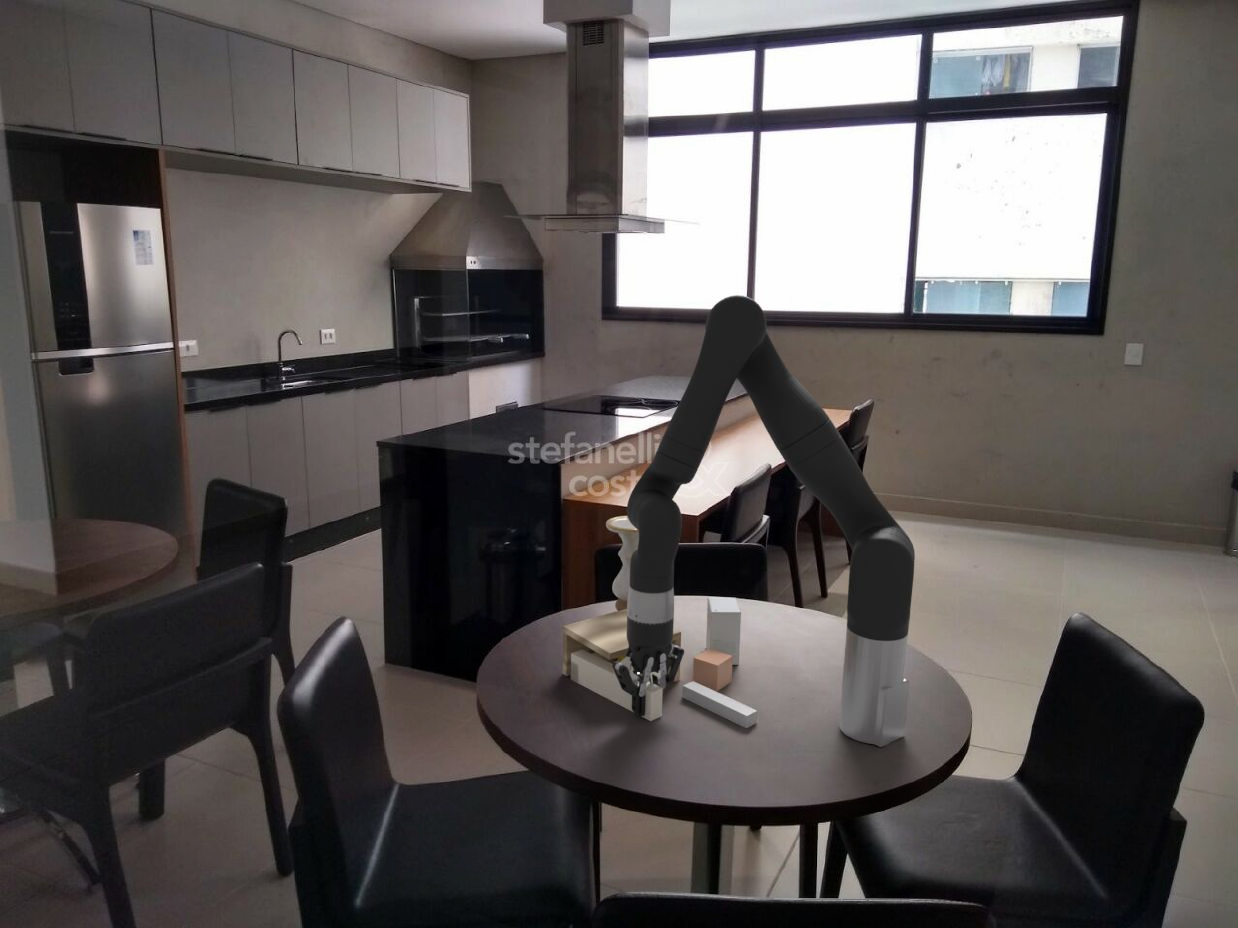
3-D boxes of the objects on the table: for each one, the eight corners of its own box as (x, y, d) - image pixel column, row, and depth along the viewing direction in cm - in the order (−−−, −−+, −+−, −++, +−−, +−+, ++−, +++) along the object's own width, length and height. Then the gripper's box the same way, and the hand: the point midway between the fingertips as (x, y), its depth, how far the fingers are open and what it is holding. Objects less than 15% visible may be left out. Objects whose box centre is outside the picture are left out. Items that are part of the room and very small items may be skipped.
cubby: (679, 679, 158) (681, 631, 156) (609, 704, 148) (610, 653, 146) (631, 652, 169) (632, 607, 167) (562, 673, 159) (562, 625, 157)
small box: (739, 665, 164) (741, 612, 161) (708, 665, 164) (711, 611, 162) (734, 647, 172) (736, 596, 169) (705, 647, 172) (707, 596, 169)
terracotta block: (731, 681, 157) (732, 655, 156) (716, 692, 153) (718, 665, 152) (707, 673, 160) (708, 648, 159) (692, 683, 156) (693, 657, 155)
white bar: (686, 704, 149) (687, 676, 148) (650, 721, 143) (651, 692, 142) (606, 665, 163) (606, 640, 162) (570, 679, 157) (571, 653, 156)
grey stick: (756, 724, 143) (757, 710, 143) (746, 730, 141) (747, 715, 141) (692, 694, 153) (693, 680, 153) (682, 698, 151) (682, 685, 151)
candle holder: (595, 644, 172) (596, 527, 167) (611, 623, 182) (613, 512, 177) (649, 652, 169) (652, 532, 164) (663, 630, 179) (666, 517, 174)
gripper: (630, 630, 134) (627, 733, 138) (698, 610, 143) (694, 708, 146) (601, 614, 140) (599, 713, 144) (668, 596, 149) (665, 691, 152)
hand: (647, 710), depth 145 cm, fingers closed on white bar, 3 cm apart
